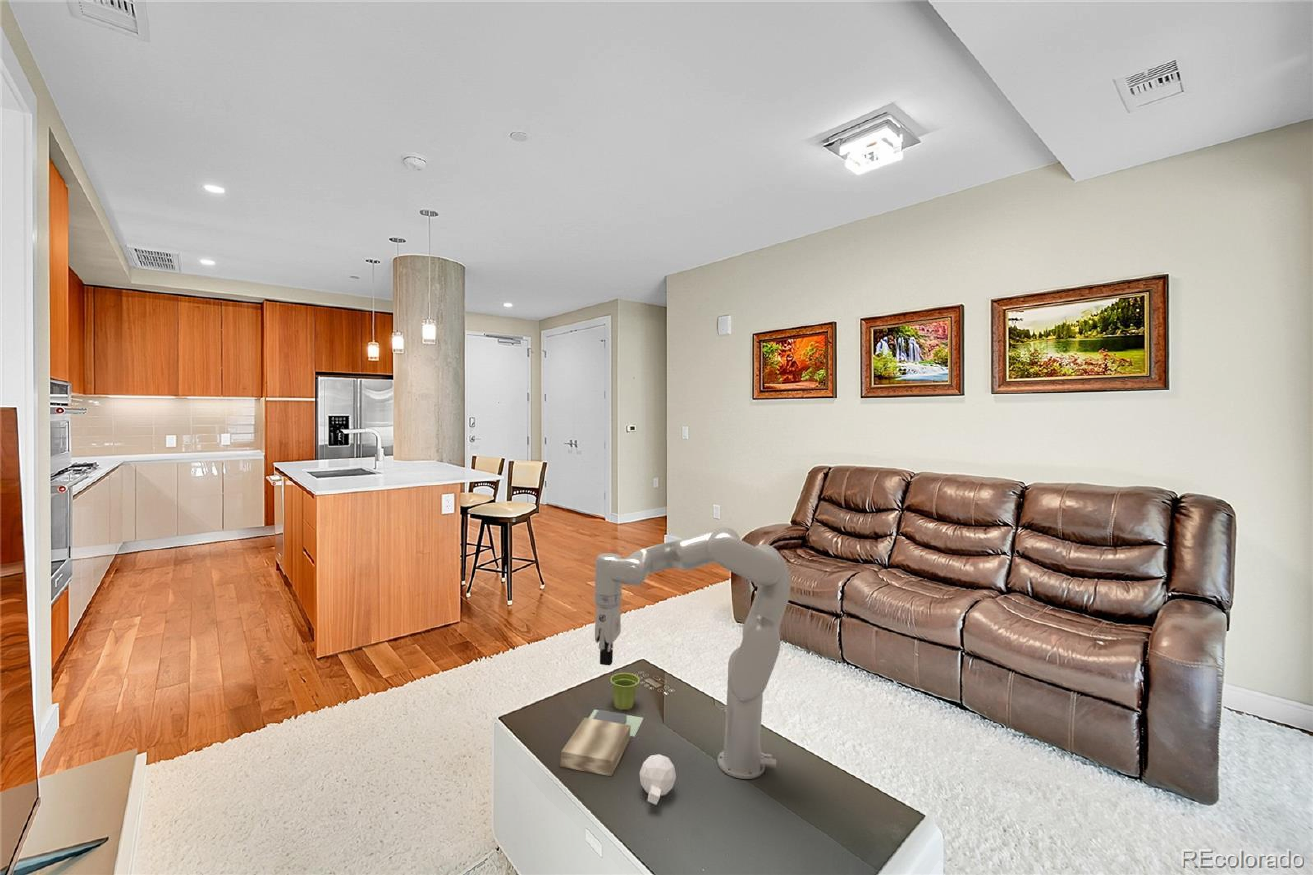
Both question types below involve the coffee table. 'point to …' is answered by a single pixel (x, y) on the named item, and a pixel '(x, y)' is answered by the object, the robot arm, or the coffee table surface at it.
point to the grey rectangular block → (611, 717)
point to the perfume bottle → (657, 776)
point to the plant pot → (624, 690)
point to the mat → (627, 722)
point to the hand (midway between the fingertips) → (606, 663)
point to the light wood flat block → (596, 746)
